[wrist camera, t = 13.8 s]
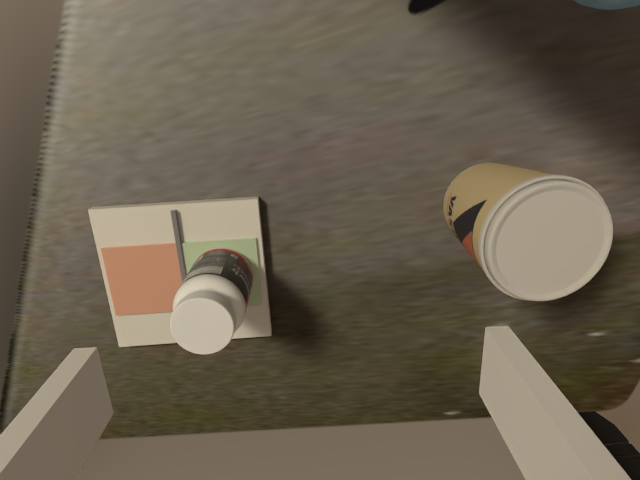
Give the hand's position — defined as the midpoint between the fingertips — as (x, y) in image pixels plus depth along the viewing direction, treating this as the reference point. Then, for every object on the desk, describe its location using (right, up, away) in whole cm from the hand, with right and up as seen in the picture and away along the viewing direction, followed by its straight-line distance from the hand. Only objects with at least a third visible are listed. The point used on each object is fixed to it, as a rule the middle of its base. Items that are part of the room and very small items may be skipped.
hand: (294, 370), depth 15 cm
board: (-12, +1, +28) cm, 30 cm away
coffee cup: (+16, +8, +27) cm, 33 cm away
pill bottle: (-8, +1, +27) cm, 28 cm away
